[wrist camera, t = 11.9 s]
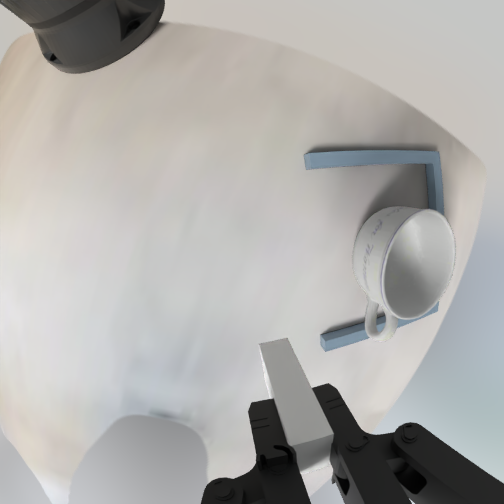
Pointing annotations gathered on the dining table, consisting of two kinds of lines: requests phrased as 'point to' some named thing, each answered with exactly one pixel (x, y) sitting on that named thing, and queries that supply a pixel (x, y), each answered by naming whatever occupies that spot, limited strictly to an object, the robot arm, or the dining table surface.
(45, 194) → the dining table surface
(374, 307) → the teacup
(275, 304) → the dining table surface
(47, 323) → the dining table surface
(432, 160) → the tray frame
